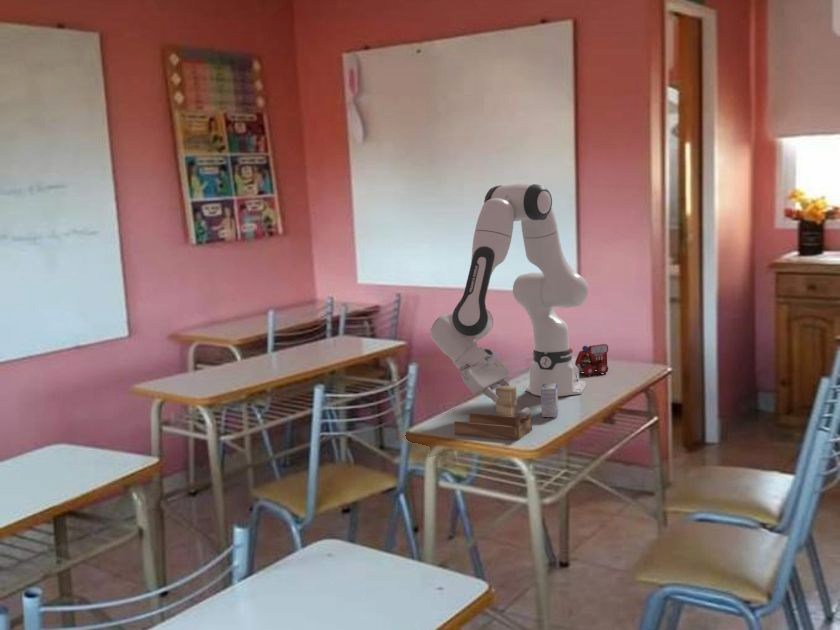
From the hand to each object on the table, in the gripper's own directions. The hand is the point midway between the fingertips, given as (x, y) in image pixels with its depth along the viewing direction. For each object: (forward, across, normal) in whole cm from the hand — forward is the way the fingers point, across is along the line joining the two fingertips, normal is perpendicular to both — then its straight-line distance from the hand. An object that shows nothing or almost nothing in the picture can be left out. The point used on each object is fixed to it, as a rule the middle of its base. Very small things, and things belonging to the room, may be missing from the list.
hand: (504, 396), depth 264 cm
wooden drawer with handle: (+6, -12, +4) cm, 14 cm away
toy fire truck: (+8, +69, +3) cm, 70 cm away
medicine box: (+12, +11, -1) cm, 16 cm away
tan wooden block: (+6, 0, +5) cm, 7 cm away
